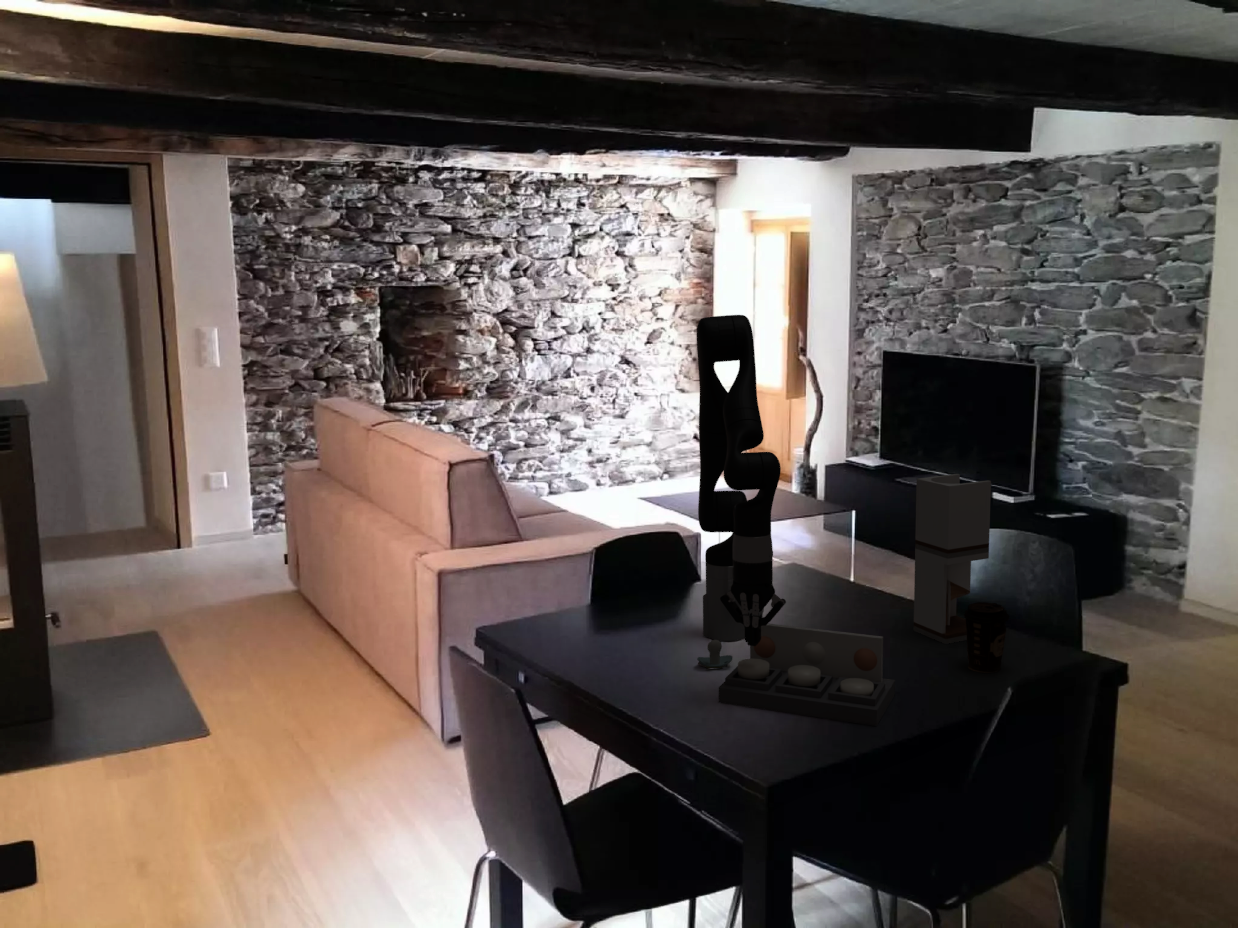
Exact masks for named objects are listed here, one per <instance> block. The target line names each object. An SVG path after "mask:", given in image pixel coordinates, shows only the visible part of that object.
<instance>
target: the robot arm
mask: <svg viewBox="0 0 1238 928" xmlns="http://www.w3.org/2000/svg"><path fill="white" fill-rule="evenodd" d="M752 329H753V328H752V325H751V322H750V319H749V318H748V317H747V316H746V315H743V314H729V315H728V314H727V315H717V316H714V315H713V316H706V317H702V318H700V319H699V320H698V324H697V327H696V354H697V362H698V363H697V366H698V380H699V383H698V384H699V405H698V406H699V410H698V411H699V413H698V442H699V462H700V463H699V465H700V466H699V485H698V486H699V490H698V504H697V505H698V508H697V509H698V510H697V516H698V524H699V526H700V529H701V530H702V531H703V532H707V533H731V535H730V536H729V537H727V538H726V539H725V540H722V541H721V542H719V543H717V544H714V545H711V546H709V547H707V548H706V551H705V560H704V561H705V593H704V594H703V595H702V618H703V619H702V631H703V633H702V634H703V636H702V637H706V638H709V639H712V640H719V641H720V642H722V641H723V642H735V641H740V640H743V639H744V641H745V643H747V646H748V647H750V646H756V645H757V644H758V643H759V642H760V640H761V626H766V625H767V624H770V622H771V621H772V620H773V619H774V618H775V616H776V615H777V614H778V613H779V612H780V611H781V610H782V608H783V607H784V606H785V605H786V603H787V601H786V599H785V598H781V597H779V596H778V595H777V594H776V589H775V588H774V585H773V582H774V581H773V580H774V577H773V572H774V571H773V569H774V568H773V564H774V563H773V559H774V558H773V557H774V551H773V550H774V549H773V539H772V509H773V504H774V500H775V495H776V492H777V489H778V485H779V481H780V477H781V472H782V471H781V470H782V467H781V462H780V460H779V458H778V457H777V456H776V454H774V453H773V452H771V451H753V452H746V451H749V450H753V449H755V448H757V447H758V446H760V445H761V444H762V443H763V441H764V433H765V432H764V429H763V424H762V418H761V413H760V408H759V402H758V391H757V389H758V388H757V373H756V372H757V369H756V356H755V344H754V342H755V341H754V335H753V330H752ZM734 361H735V362H736V361H739V366H738V372H737V374H736V376H735V378H734V379H735V380H734V381H733V383H732V384H731V386H730V388H729V390H728V391H727V390H726V388H725V387H724V386H723V384H722V382H721V380H720V378H719V377H718V375H717V372H716V369H715V364H716V363H721V362H722V363H723V362H734ZM722 474H723V479H724V482H725V483H726V485H727V487H729V488H730V489H731V490H715V489H716V485H717V484H718V482H719V480H720V477H721V475H722ZM751 490H752V491H755V490H756V491H757V490H758V492H757V494H756V495H755V496H754V497H752V498H750V499H747V496H746V494H745V492H743V491H751ZM770 601H771V603H770ZM769 603H770V607H771V608H770V610H769V611H768V613H767V614H765V616H764V617H763V615H764V611H765V610H764V609H765V608H766V606H767V605H768V604H769Z"/></svg>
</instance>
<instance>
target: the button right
mask: <svg viewBox="0 0 1238 928" xmlns="http://www.w3.org/2000/svg"><path fill="white" fill-rule="evenodd" d="M840 692H841V693H848V694H856V695H863V696H870V697H871V696H872V694H873V693H874V684H873V683H872V682H871V681H869V680H866V679H861V678H849V679H845V680H842V681H841V683H840Z"/></svg>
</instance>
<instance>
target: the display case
mask: <svg viewBox="0 0 1238 928" xmlns="http://www.w3.org/2000/svg"><path fill="white" fill-rule="evenodd" d="M960 477H961V474H959V473H954V474H943V475H936V476H929V477H927V476H926V477H920V478H916V483H915V486H916V489H915V490H916V492H915V495H916V496H915V497H916V499H915V535H914V536H915V537H914V538H915V539H914V540H915V541H914V542H915V543H914V544H915V545H914V546H915V547H914V554H915V555H914V584H913V585H914V589H913V590H914V595H913V600H914V601H913V602H914V603H913V632H915V633H919V634H920V633H921V635H923V636H926V637H927V638H930V639H932V640H934V639H935V641H937V642H939V643H941V642H942V643H941V644H944V645H948V644H949V643H950V644H953V643H954V642H955V643H958V642H959V641H960V642H963V641H967V634H966V618H965V617H960V616H959V615H957V599H959V598H961V597H964V596H967V595H969V594H971V578H972V577H971V576H972V574H971V573H972V572H971V571H972V570H971V569H972V562H974V561H981V560H986V559H990V557H989V556H990V533H991V531H990V530H991V529H990V528H991V527H990V526H991V498H992V497H991V495H992V481H991V480H981V481H975V482H974V481H973V482H972V481H971V482H966V483H965V482H964V483H960V482H961V481H960V480H961V479H960ZM950 644H949V645H950Z"/></svg>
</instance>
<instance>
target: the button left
mask: <svg viewBox="0 0 1238 928" xmlns="http://www.w3.org/2000/svg"><path fill="white" fill-rule="evenodd" d="M737 666H738V675H739V676H740V677H742V678H746V679H763V678H766V677H768V676H769V663H768V662H767V661H765V660H762V659H750V658H747V659H746V658H745V659H741V660H740V661H738V662H737Z"/></svg>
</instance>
